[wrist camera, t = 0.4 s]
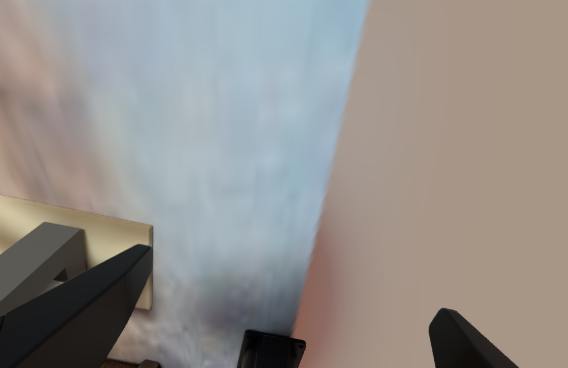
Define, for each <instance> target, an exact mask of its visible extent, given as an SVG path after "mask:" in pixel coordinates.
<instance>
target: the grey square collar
mask: <svg viewBox="0 0 568 368" xmlns="http://www.w3.org/2000/svg"><path fill="white" fill-rule="evenodd" d="M84 271H86V264H85V257H84V249H83V242H82V234H81V229H79V228H74V227H69V226H64V225H59V224H54V223H49V222H43V223H42V224H40V225H39V226H38V227H36V228H35V229H34V230H32V231H31V232H30V233H28V234H27V235H26V236H24V237H23V238H22V239H20V240H19V241H18V242H16V243H15V244H14V245H12V246H11V247H10V248H8V249H7V250H6V251H4V252H3V253H1V254H0V315H4V316H5V313H6V312H8V311H10V310H12V309H14V308H16V307H18V306H20V305H22V304H23V303H25V302H27V301H29V300H31V299H33V298H35V297H36V296H37V295H38V294H39V293H40V292H41V291H42V290H43V289H44V288H45V287H46V286H47V285H48V284H49V283H50V282H51V281H52V280H55V281H60V282H65V281H67V280H69V279H71V278H73V277H75V276H77V275H79V274H81V273H83V272H84Z"/></svg>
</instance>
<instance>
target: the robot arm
mask: <svg viewBox="0 0 568 368" xmlns="http://www.w3.org/2000/svg"><path fill="white" fill-rule="evenodd" d="M152 263H153V248H152V247H151V246H149V245H144V244H136V245H134V246H132V247H130V248H128V249H126V250H125V251H123V252H121V253H119V254H117V255H115V256H113V257H111V258H109V259H107V260H105V261H104V262H102V263H100V264H98V265H96V266H94V267H92V268H90V269H88V270H86V271H84V272H83V273H81V274H79V275H77V276H75V277H73V278H71V279H69V280H67V281H65V282H64V283H62V284H60V285H58V286H56V287H54V288H52V289H50V290H48V291H46V292H44V293H43V294H41V295H39V296H37V297H35V298H33V299H31V300H29V301H27V302H25V303H23V304H22V305H20V306H18V307H16V308H14V309H12V310H10V311H8V312H6V313H5V316H4V315H0V368H100V367H101V366H102V364H103V362H104V361H105V359H106V357H107V356H108V354H109V352H110V351H111V349H112V348H113V346H114V344H115V343H116V341H117V339H118V338H119V336H120V334H121V333H122V331H123V329H124V328H125V326H126V324H127V322H128V320H129V318H130V316H131V314H132V312H133V310H134V308H135V306H136V304H137V302H138V300H139V297H140V295H141V293H142V291H143V289H144V287H145V285H146V283H147V281H148V278H149V276H150V274H151V271H152ZM429 336H430V341H431V346H432V352H433V357H434V361H435V367H436V368H519V367H518V366H516V365H515V364H514V363H513V362H512V361H511V360H510V359H509V358H508V357H507V356H505V355H504V354H503V353H502V352H501V351H500V350H499V349H498V348H497V347H495V346H494V345H493V344H492V343H491V342H490V341H489V340H488V339H487V338H486V337H484V336H483V335H482V334H481V333H480V332H479V331H478V330H477V329H476V328H475V327H474V326H472V325H471V324H470V323H469V322H468V321H467V320H466V319H465V318H464V317H462V316H461V315H460V314H459V313H458V312H457V311H455V310H452V309H447V308H441V309H440V310H439V311H438V313H437V314H436V316H435V317H434V319H433V320H432V322H431V323H430V326H429ZM305 348H306V342H305V341H304V340H299V339H295V338H289V337H284V336H279V335H273V334H268V333H263V332H257V331H252V330H247V331H245V334H244V338H243V342H242V347H241V351H240V356H239V360H238V364H237V368H298V367H299V364H300V361H301V359H302V356H303V354H304V351H305Z"/></svg>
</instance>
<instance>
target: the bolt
mask: <svg viewBox="0 0 568 368" xmlns="http://www.w3.org/2000/svg"><path fill="white" fill-rule="evenodd" d="M100 368H159V364H158V362H156V361H151V360H144V361H143V362H141V364H140V365H139V367H136V366H134V367H133V366H132V365H131V366H130V365H128V366H127V365H126V364H125V365H124V364H122V365H121V364H120V363H119V364H118V363H115V362H113V363H112V362H109V361H104V362H103V364H102V366H101V367H100Z"/></svg>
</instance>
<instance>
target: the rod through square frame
mask: <svg viewBox="0 0 568 368" xmlns="http://www.w3.org/2000/svg"><path fill="white" fill-rule="evenodd" d="M43 222H49V223H54V224H59V225H64V226H69V227H74V228H79V229H81V234H82V242H83V249H84V257H85V264H86V270H88V269H90V268H92V267H94V266H96V265H98V264H100V263H102V262H104V261H105V260H107V259H109V258H111V257H113V256H115V255H117V254H119V253H121V252H123V251H125V250H126V249H128V248H130V247H132V246H134V245H136V244H144V245H149V246H151V247H152V225H147V224H143V223H138V222H133V221H128V220H123V219H118V218H113V217H108V216H103V215H98V214H93V213H88V212H83V211H78V210H73V209H68V208H63V207H58V206H53V205H48V204H43V203H38V202H33V201H28V200H23V199H18V198H13V197H8V196H3V195H0V254H1V253H3V252H4V251H6V250H7V249H8V248H10V247H11V246H12V245H14V244H15V243H16V242H18V241H19V240H20V239H22V238H23V237H24V236H26V235H27V234H28V233H30V232H31V231H32V230H34V229H35V228H36V227H38V226H39V225H40V224H42V223H43ZM62 283H64V282H60V281H55V280H52V281H51V282H50V283H49V284H48V285H47V286H46V287H45V288H44V289H43V290H42V291H41V292H40V293H39V294H38V295H37V296H39V295H41V294H43V293H44V292H46V291H48V290H50V289H52V288H54V287H56V286H58V285H60V284H62ZM37 296H36V297H37ZM151 305H152V271H151V274H150V276H149V278H148V281H147V283H146V285H145V287H144V289H143V291H142V293H141V295H140V297H139V300H138V302H137V304H136V306H135V307H136V308H142V309H147V310H149V309H150V307H151Z"/></svg>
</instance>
